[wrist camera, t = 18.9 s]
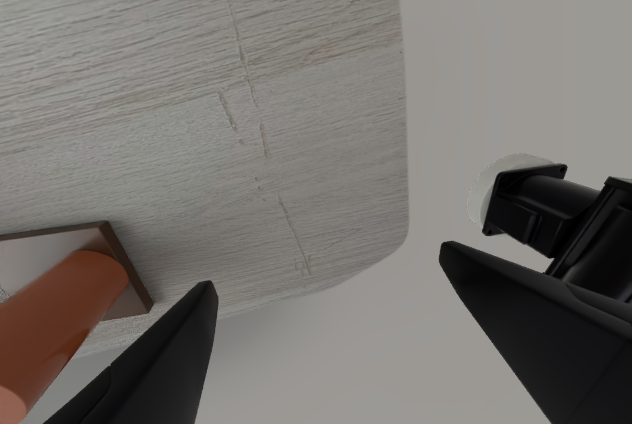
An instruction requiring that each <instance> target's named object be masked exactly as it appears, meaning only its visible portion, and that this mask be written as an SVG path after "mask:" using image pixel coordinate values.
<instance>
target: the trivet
mask: <svg viewBox="0 0 632 424" xmlns="http://www.w3.org/2000/svg"><path fill="white" fill-rule="evenodd" d="M80 250H88V251H95V252H99V253H102V254H105V255H107V256H109V257H111V258H113V259H115V260H116V261H117V262H119V263H120V264H121V265H122V266H123V268H124V269H125V270H126V272H127V275H128V285H127V287H126V289H125V290H124V292H123V293H122V294H121V295H120V297H119V298H118V299H117V300H116V302H115V303H114V304H113V306H112V307H111V308H110V309H109V311H108V312H107V313H106V314H105V316H104V317H103V318H102V320H101V321H106V320H112V319H118V318H124V317H129V316H135V315H141V314H147V313H149V312H150V310H151V308H152V307H153V305H154V303H153V302H152V300H151V298H150V296H149V294H148V293H147V291H146V289H145V287H144V286H143V284H142V282H141V280H140V278H139V277H138V275H137V273H136V271H135V269H134V268H133V266H132V264H131V262H130V260H129V259H128V257H127V255H126V253H125V251H124V250H123V248H122V246H121V244H120V242H119V241H118V239H117V237H116V235H115V234H114V232H113V230H112V228H111V226H110V225H109V223H108V221H100V222H93V223H86V224H78V225H71V226H64V227H57V228H50V229H42V230H35V231H28V232H21V233H13V234H6V235H0V287H1V289H2V290H3V291H4V292H5V293H6V294H7V295H8V296H9V297H10V296H11V295H12V294H14V293H15V292H16V291H18V290H19V289H20V288H21V287H23V286H24V285H25V284H27V283H28V282H29V281H31V280H32V279H33V278H35V277H36V276H37V275H39V274H40V273H41V272H43V271H44V270H45V269H47V268H48V267H49V266H51V265H52V264H53V263H55V262H56V261H57V260H59V259H60V258H61V257H63V256H64V255H66V254H68V253H70V252H74V251H80Z"/></svg>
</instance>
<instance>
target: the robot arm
mask: <svg viewBox="0 0 632 424" xmlns="http://www.w3.org/2000/svg"><path fill="white" fill-rule="evenodd" d="M566 171H567V165H565V164H561V163H560V164H552V165H544V166H537V167H530V168H523V169H516V170H509V171H502V172H500V173H498V174H497V176H496V178H495V182H494V186H493V190H492V194H491V198H490V202H489V206H488V210H487V214H486V217H485V221H484V225H483V229H482V233H483V234H484V235H486V236H493V235H499V234H505V233H506V234H507V235H509V236H511V237H512V238H514V239H515V240H517V241H518V242H520V243H522V244H524V245H525V244H526V245H528V246H529V247H531V248H533V249H534V250H536V251H537V252H539V253H541V254H542V255H544V256H545V257H547V258H549V259H550V258H554V260H553V261H552V262H551V264H550V265H549V267H548V268H547V270H546V271H545V272H543V273H540V272H537V271H535V270H532V269H529V268H526V267H523V266H521V265H518V264H515V263H513V262H510V261H507V260H504V259H501V258H499V257H496V256H493V255H491V254H488V253H485V252H483V251H480V250H477V249H474V248H472V247H469V246H466V245H463V244H461V243H458V242H455V241H448V242H443V243H442V244H441V249H440V255H439V263H440V265H441V267H442V269H443V271H444V272H445V274H446V276H447V277H448V279H449V281H450V283H451V284H452V286H453V288H454V289H455V291H456V293H457V294H458V296H459V297H460V299H461V300H462V302H463V303H464V305H465V306H466V307H467V309H468V310H469V311H470V313H471V314H472V316H473V317H474V318H475V320H476V321H477V322H478V324H479V325H480V327H481V328H482V329H483V331H484V332H485V333H486V335H487V336H488V337H489V339H490V340H491V342H492V343H493V344H494V346H495V347H496V349H497V350H498V351H499V353H500V354H501V355H502V357H503V358H504V359H505V361H506V362H507V363H508V365H509V366H510V368H511V369H512V370H513V372H514V373H515V375H516V376H517V377H518V379H519V380H520V381H521V383H522V384H523V385H524V387H525V388H526V390H527V391H528V392H529V394H530V395H531V397H532V398H533V399H534V401H535V402H536V403H537V405H538V406H539V407H540V409H541V410H542V412H543V413H544V414H545V415H546V417H547V418H548V420H549V421H550V423H551V424H632V179H625V178H617V177H610V176H609V177H608V178H607V180H606V181H605V183H604V184H605V186H604V187H603V189H602V190H601V191H599V190H595V189H592V188H589V187H586V186H582V185H579V184H576V183H573V182H569V181H566V180H563V179H564V176H565V173H566ZM503 176H504V177H503ZM502 177H503V178H502ZM217 310H218V295H217V293H216V290H215V287H214V285H213V283H212V281H210V280H208V281H202V282H199V283H198V284H197V285H196V286H194V287H193V288H192V289H191V290H190V291H189V292H188V293H187V294H186V295H185V296H184V297H183V298H181V299H180V300H179V301H178V302H177V303H176V304H175V305H174V306H173V307H172V308H171V309H170V310H168V311H167V312H166V313H165V314H164V315H163V316H162V317H161V318H160V319H159V320H158V321H157V322H155V323H154V324H153V325H152V326H151V327H150V328H149V329H148V330H147V331H146V332H145V333H144V334H142V335H141V336H140V337H139V338H138V339H137V340H136V341H135V342H134V343H133V344H132V345H131V346H129V347H128V348H127V349H126V350H125V351H124V352H123V353H122V354H121V355H120V356H119V357H118V358H116V359H115V360H114V361H113V362H112V363H111V365H110V366H108V367H107V368H106V369H105V370H103V371H102V372H101V373H100V374H99V375H98V376H97V377H96V378H95V379H94V380H92V381H91V382H90V383H89V384H88V385H87V386H86V387H85V388H84V389H83V390H81V391H80V392H79V393H78V394H77V395H76V396H75V397H74V398H72V399H71V400H70V401H69V402H68V403H66V404H65V405H64V406H63V407H62V408H61V409H59V410H58V411H57V412H56V413H55V414H54V415H52V417H50V418H49V419H48V420H47V421H45V422H44V423H43V424H194V423H195V419H196V415H197V410H198V406H199V402H200V398H201V393H202V390H203V385H204V381H205V377H206V373H207V368H208V364H209V360H210V355H211V352H212V347H213V341H214V334H215V327H216V319H217Z"/></svg>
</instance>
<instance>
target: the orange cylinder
mask: <svg viewBox="0 0 632 424" xmlns="http://www.w3.org/2000/svg"><path fill="white" fill-rule="evenodd" d="M127 285H128V275H127V272H126V270H125V269H124V268H123V266H122V265H121V264H120V263H119V262H117V261H116V260H115V259H113V258H111V257H109V256H107V255H105V254H102V253H99V252H95V251H88V250H80V251H74V252H70V253H68V254H66V255H64V256H63V257H61V258H60V259H59V260H57V261H56V262H55V263H53V264H52V265H51V266H49V267H48V268H47V269H45V270H44V271H43V272H41V273H40V274H39V275H37V276H36V277H35V278H33V279H32V280H31V281H29V282H28V283H27V284H25V285H24V286H23V287H21V288H20V289H19V290H18V291H16V292H15V293H14V294H12V295H11V296H10V297H8V298H7V299H6V300H4V301H3V302H2V303H0V424H17V423H19V422H20V421H21V420H23V419H24V418H25V416H26V415H27V414H28V413H29V411H30V410H31V409H32V408H33V406H34V405H35V404H36V402H37V401H38V400H39V399H40V397H41V396H42V395H43V394H44V392H45V391H46V390H47V388H48V387H49V386H50V385H51V383H52V382H53V380H54V379H55V378H56V377H57V376H58V374H59V373H60V372H61V371H62V369H63V368H64V367H65V365H66V364H67V363H68V362H69V360H70V359H71V358H72V357H73V355H74V354H75V353H76V351H77V350H78V349H79V348H80V346H81V345H82V344H83V343H84V341H85V340H86V339H87V337H88V336H89V335H90V334H91V332H92V331H93V330H94V329H95V327H96V326H97V325H98V323H99V322H100V321H101V320H102V318H103V317H104V316H105V314H106V313H107V312H108V311H109V309H110V308H111V307H112V306H113V304H114V303H115V302H116V300H117V299H118V298H119V297H120V295H121V294H122V293H123V292H124V290H125V289H126V287H127Z"/></svg>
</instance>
